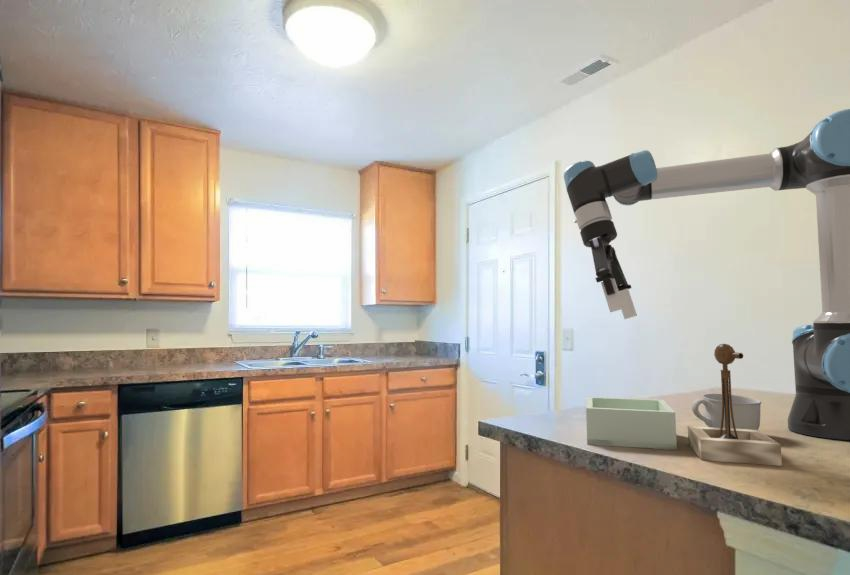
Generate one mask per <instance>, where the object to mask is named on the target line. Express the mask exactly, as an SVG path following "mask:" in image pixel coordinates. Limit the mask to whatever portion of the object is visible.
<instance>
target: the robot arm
mask: <svg viewBox="0 0 850 575" xmlns="http://www.w3.org/2000/svg"><path fill="white" fill-rule="evenodd" d="M563 179H564V184H565V189H566V192H567V195H568V199H569V201H570V204H571V207H572V211H573V214H574V217H575V219H574V220H573V223H575V224H577V226H578V228H579V229H578V230H580V231H579V232H580V233H579V234H580V237H581V241H582V243H583V245H584V247H586V248H590V249H591V253H592V259H593V265H594V269H595V276H596V277H595V281H596V283H597V284H598V283H600V284H601V287H602V290H603V293H604V296H605V300H606V303H607V306H608V310H609V312H610V313H613V312H617V311H620V310H621V312H622V315H623V319H624V320H627V319H630V318H634V317H636V316H638V315H637V311H636V309H635V308H636V307H635V305H634V302H633V299H632V296H631V293H630V289H632V285H631V284H628V281H627V279H626V276H625V274H624V271H623V269H622V267H621V263H620V261H619V259H618V257H617V253H616V250H615V248H614V246H612V244H610V243H611V242H613V241H614V240H616V239H617V236H618V232H617V228H616V226H615V222H613V221H612V220H613V216H612V213H611V210H610V207H609V204H608V202H607V200H606V199H607V198H611V197H613V198H614V200H615V201H616V202H617V203H619V204H620V205H621V206H622V205H623V206H633V205H635V204H637V203H639V202H640V201H641V202H643V201H649V200H650V201H651V200H659V199H667V198H679V197H688V196H696V195H705V194H714V193H715V194H716V193H724V192H734V191H743V190H752V189H753V190H754V189H762V188H763V189H764V188H770V189H772V190H773V191H776V192H778V191H786V190H787V191H788V190H799V189H806V190H808V191H809V192H810V193H812V194H813V195H815V204H816V221H817V223H816V224H817V240H818V257H819V258H818V260H819V261H818V262H819V276H820V294H821V296H820V298H821V311H822V312H821V314H820V315H819V316H817V318H815V319H814V320H812V322H813V324H806V325H800V326H797V327H796V328H794V330H793V331H792V340H791V344H792V349H793V368H794V384H795V385H794V386H795V395H794V399H793V401H792V405H791V406H790V407H791V408H790V410H789V413H788V417H787V429H788V430H789V431H791V432H794V433H798V434H801V435H805V436H811V437H817V438H818V437H819V438H824V439H833V440H841V441H842V440H843V441H850V108H846V109H841V110H838V111H836V112H834V113H831V114H829V115H828V116H826V117H825V118H823V119H822V120H820V121H819V122H818V123H817V124H815V125H814V127H813V128H812V130H811V132H809V134H808V135H807V136H805V137H804V138H803V139H802V140H801V141H799V142H797V143H796V142H795V143H794V144H793V143H792V144H791V145H787V146H781V147H775V148H773V149H772V150H771V151H770V152H769V153H762V154H754V155H747V156H740V157H733V158H723V159H717V160H709V161H701V162H694V163H685V164H678V165H670V166H664V167H663V166H661V167H657V165H656V162H655V159H654V157H653V155H652V153H651V151H649V150H647V149H645V150H642V151H637V152H633V153H631V154H629V155H625V156H623V157H621V158H618V159H615V160H613V161H611V162H608V163H605V164H602V165H598V166H596V165H595V163H594V162H592V161H591V160H584V161H578V162H575V163H573V164H571V165H569V166H568V167H567V168H566V169H565V171H564V173H563Z"/></svg>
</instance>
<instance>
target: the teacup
mask: <svg viewBox="0 0 850 575" xmlns="http://www.w3.org/2000/svg"><path fill="white" fill-rule="evenodd" d="M731 396H732V408H733V417H734V422H735V428H736V429H750V430H759V429H760V424H761V404H762V400H759V399H758V398H755V397H750V396H747V395H746V396H744V395H739V394H738V395H737V394H732V393H731ZM701 404H702V405H703V406H702V407H703V409H702V410H703V411H702V412H703V415H702V414H701V413H700V411H699V406H701ZM729 408H730V399H729ZM691 411H692V413H693V414H694V416H695V417H697V418H698V419H699V420H701V421H702V422H704V424H705V425H706V427H714V428H721V418H722V393H717V392H716V393H705V394H702V398H697V399H695V400H694V401H693V402H692V405H691ZM723 428H725V408H724V421H723ZM730 428H732V429H733V423H732V418H731V410H730Z"/></svg>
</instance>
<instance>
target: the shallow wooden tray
mask: <svg viewBox="0 0 850 575" xmlns="http://www.w3.org/2000/svg"><path fill="white" fill-rule="evenodd" d="M730 430H731V434H732V435H734V436H735V432H734V429H732V428H730ZM736 432H737V436H738V439H722V438H718V437H719V434H720V428H714V427H708V426H697V425H696V426H695V425H694V426H693V425H688V426H687V435H688V436H687V440H688V445H689V446H690V448H691V449H692V451H693V452H694V453H695V454H696V455H697V457H698V458H699V459H700V460H701V461H711V462H712V461H713V462H725V463H739V464H753V465H764V466H765V465H766V466H780V467H781V466H783V462H782V461H783V459H782V445H781V443H780V442H777V440H774V439H773V438H771V437H770V436H768V435H766V434H765V433H764V432H762V431H761V430H759V429H758V430H750V429H736ZM725 433H726V431H725V428H723V429H722V435H723V434H725ZM735 437H736V436H735Z"/></svg>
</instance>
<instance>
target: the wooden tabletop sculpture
mask: <svg viewBox="0 0 850 575" xmlns="http://www.w3.org/2000/svg"><path fill="white" fill-rule="evenodd" d="M713 356H714V359H715V360H716V361H717V363H719V364H720V365H722V369H720V378H721V379H720V381H721V394H722V418H721V428H720V434H719V437H718V438H722V439H738V436H737V432H736V428H735V422H734V417H733V408H732V396H731V394H732V380H731V370H730V369H728V368H729V367H728V365H731V364H733V363H734V361H735V360H736V359H737V360H738V359H739V360H740V359H743V358H744V354H743V352H736V351H735V349H734V347H732V345H730V344H728V343H727V344H726V343H721V344H719V345H717V346H716V348H715V349H714V355H713ZM729 399H730V408H729ZM724 408H725V431H726V433H725V434H723V435H722V429H723V421H724ZM730 410H731V418H732V423H733V429H734V432H735V436H736V437H735V436H734V435H732V434H731V430H730Z"/></svg>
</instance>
